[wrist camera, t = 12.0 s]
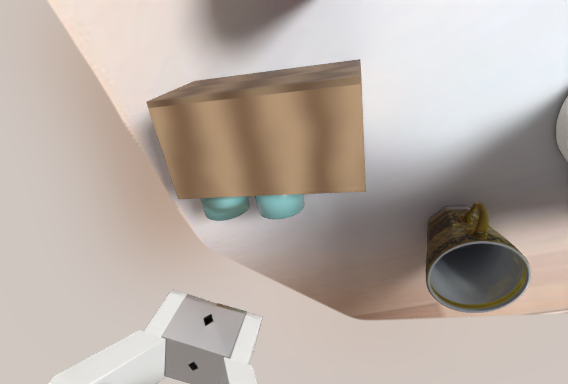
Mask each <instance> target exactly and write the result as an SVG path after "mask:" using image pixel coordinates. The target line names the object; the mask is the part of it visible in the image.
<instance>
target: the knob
mask: <svg viewBox="0 0 568 384" xmlns="http://www.w3.org/2000/svg"><path fill="white" fill-rule="evenodd" d="M255 197H256V201H257V206H258V211H259V214H260V215H261V216H263V217H265V218H268V219H284V218H288V217H291V216H294V215H296V214H297V213H299V212H300V211H301V210H302V209H303V208H304V199H303V194H290V195H265V196H255Z"/></svg>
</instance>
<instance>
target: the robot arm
mask: <svg viewBox="0 0 568 384" xmlns="http://www.w3.org/2000/svg"><path fill="white" fill-rule="evenodd" d="M556 139H557V144H558V147H559V149H560V151H561V153H562V155H563V156H564V158H565V159H566V160H567V162H568V96H567V98H566V99H565V101H564V103H563V105H562V107H561V110H560V112H559V115H558V119H557V124H556ZM261 322H262V316H258V315H255V314H251V313H248V312H246V311H243V310H239V309H236V308H232V307H229V306H225V305H222V304H216V303H213V302H210V301H207V300H204V299H201V298H198V297H195V296H192V295H189V294H186V293H182V292H180V291H177V290H172V291H171V292H170V293H169V294H168V295H167V297H166V299H165V300H164V301H163V303H162V304H161V306H160V307H159V309H158V310H157V312H156V313H155V315H154V316H153V318H152V319H151V321H150V322H149V324H148V325H147V327H146V328H145V330H144V331H140V330H138V331H136V332H135V333H133V334H131V335H129V336H127V337H125V338H123V339H122V340H120V341H118V342H116V343H114V344H112V345H111V346H109V347H107V348H105V349H103V350H101V351H99V352H98V353H96V354H94V355H92V356H90V357H88V358H87V359H85V360H83V361H81V362H79V363H78V364H76V365H74V366H72V367H70V368H68V369H66V370H65V371H63V372H61V373H59V374H57V375H55V376H54V377H53V379H52V380H51V381H50V382H49V383H48V384H157V383H159V382H160V381H161V380H163V379H164V376H166V377H170V378H173V379H176V380H180V381H183V382H187V383H190V384H257V381H256V377H255V373H254V370H253V366H251V365H250V363H251V359H252V356H253V352H254V348H255V345H256V341H257V337H258V333H259V329H260V325H261Z"/></svg>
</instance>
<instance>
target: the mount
mask: <svg viewBox="0 0 568 384" xmlns="http://www.w3.org/2000/svg"><path fill="white" fill-rule="evenodd" d="M147 105H148V109H149V112H150V115H151V118H152V121H153V124H154V127H155V130H156V133H157V136H158V139H159V142H160V145H161V148H162V151H163V154H164V157H165V160H166V163H167V166H168V170H169V173H170V176H171V179H172V182H173V185H174V188H175V191H176V194H177V197H178V199H190V198H201V201H202V204H203V208H204V211H205V215H206V217H207V218H209V219H211V220H216V221H223V220H229V219H232V218H235V217H238V216H240V215H241V214H243V213H244V212H246V211H247V210H248V208H249V200H248V196H265V195H290V194H315V193H340V192H365V191H366V183H365V158H364V133H363V108H362V84H361V65H360V60H352V61H345V62H337V63H329V64H322V65H314V66H306V67H299V68H291V69H283V70H276V71H268V72H260V73H253V74H245V75H238V76H230V77H222V78H215V79H207V80H199V81H194V82H191V83H189V84H187V85H184V86H182V87H180V88H178V89H175V90H173V91H171V92H168V93H166V94H164V95H161V96H159V97H157V98H154V99H152V100H150V101H147Z"/></svg>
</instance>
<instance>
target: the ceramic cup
mask: <svg viewBox="0 0 568 384" xmlns="http://www.w3.org/2000/svg"><path fill="white" fill-rule="evenodd" d="M477 209H478V215H477V214H476V213H475V211H476V210H477ZM427 245H428V251H427V257H426V283H427V287H428V290H429V292H430V293H431V295H432V296H433V297H434V298H435V299H436V300H437V301H438V302H439V303H441V304H442V305H444V306H446V307H448V308H450V309H453V310H456V311H460V312H466V313H483V312H489V311H494V310H497V309H500V308H503V307H505V306H507V305H509V304H511V303H513V302H514V301H515V300H517V299H518V298H519V297H520V296H521V295H522V294H523V293H524V292H525V290H526V289H527V287H528V285H529V283H530V279H531V269H530V265H529V263H528V261H527V259H526V258H525V257H524V255H523V254H522V253H521V252H520V251H519V250H518V249H517V248H516V247H515V246H514V245H512V244H511V243H510V242H509V241H508V240H507V239H505V238H504V237H503V236H502V235H500V234H499V233H497V232H496V231H495V230H493V229H492V228H491V227H490V226H489V220H488V214H487V211H486V209H485V207H484V205H483V204H482V203H474V204H473V205H472V207H471V208H469V207H467V206H447V207H445V208H443V209H442V210H440V211H439V212H438V213H437V214H435V215H434V216H433V217H431V218H430V219H429V222H428V234H427Z"/></svg>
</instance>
